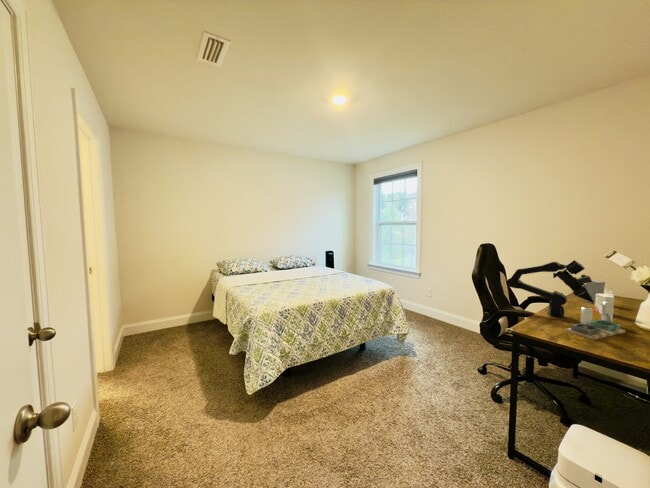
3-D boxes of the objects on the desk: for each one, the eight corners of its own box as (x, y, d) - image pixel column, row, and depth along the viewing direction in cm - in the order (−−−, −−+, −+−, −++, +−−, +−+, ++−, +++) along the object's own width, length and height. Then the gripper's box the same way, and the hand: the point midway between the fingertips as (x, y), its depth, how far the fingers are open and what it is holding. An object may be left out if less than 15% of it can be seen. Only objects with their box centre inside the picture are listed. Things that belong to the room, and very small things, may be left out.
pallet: (592, 339, 139) (593, 332, 139) (565, 330, 150) (565, 324, 150) (625, 332, 147) (626, 325, 147) (597, 324, 159) (597, 318, 158)
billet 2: (603, 324, 158) (605, 303, 157) (599, 322, 162) (600, 300, 161) (613, 325, 157) (615, 303, 156) (609, 322, 161) (610, 301, 160)
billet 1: (582, 332, 145) (583, 308, 144) (578, 329, 149) (579, 306, 148) (593, 333, 143) (594, 309, 142) (588, 330, 147) (589, 307, 146)
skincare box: (582, 301, 203) (584, 279, 202) (589, 300, 205) (591, 279, 204) (597, 304, 195) (598, 282, 194) (604, 303, 197) (605, 281, 196)
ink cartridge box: (593, 311, 182) (595, 288, 181) (602, 311, 181) (604, 289, 180) (604, 315, 174) (605, 292, 172) (613, 315, 173) (615, 292, 171)
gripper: (582, 273, 158) (609, 295, 151) (580, 268, 172) (604, 288, 166) (563, 285, 163) (588, 307, 157) (562, 279, 178) (585, 299, 171)
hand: (592, 300), depth 163 cm, fingers open, 9 cm apart
